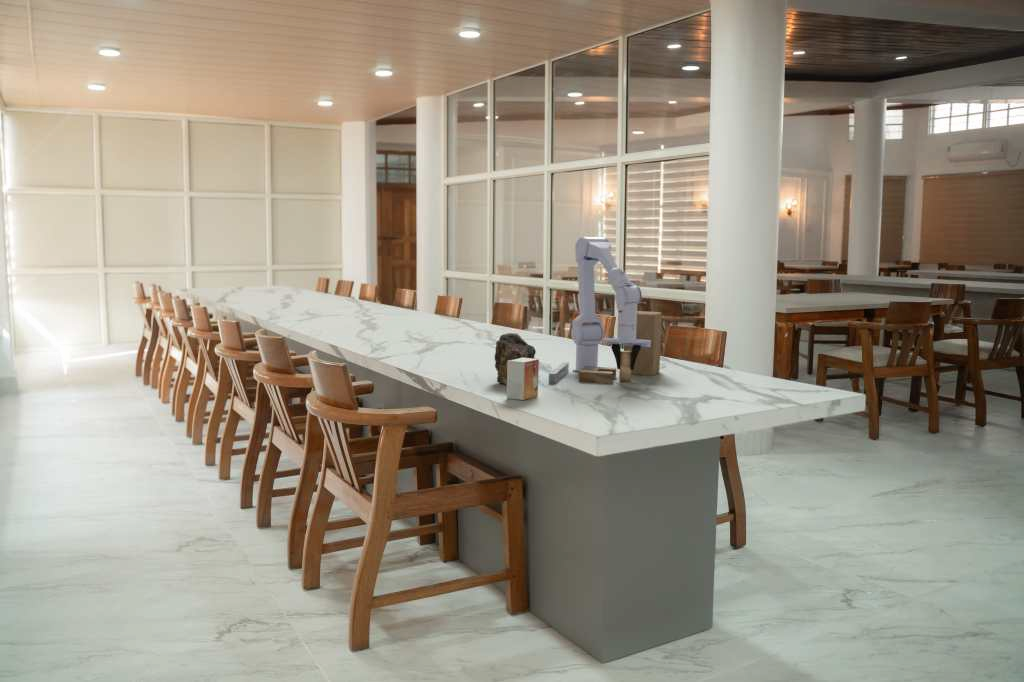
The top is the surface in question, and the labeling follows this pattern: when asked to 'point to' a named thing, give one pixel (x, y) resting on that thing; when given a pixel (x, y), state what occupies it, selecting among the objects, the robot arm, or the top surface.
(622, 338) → the robot arm
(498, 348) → the rock
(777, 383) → the top surface
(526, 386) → the small box
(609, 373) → the block
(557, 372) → the rail
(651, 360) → the wooden block
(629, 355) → the dowel
